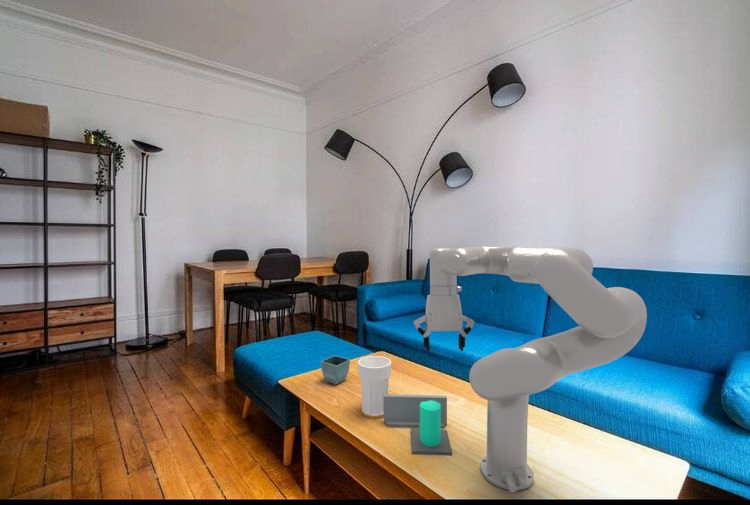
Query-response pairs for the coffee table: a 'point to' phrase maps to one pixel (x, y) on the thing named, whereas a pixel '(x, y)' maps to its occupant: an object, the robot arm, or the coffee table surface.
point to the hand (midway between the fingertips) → (444, 349)
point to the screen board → (409, 409)
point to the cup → (374, 384)
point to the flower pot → (335, 369)
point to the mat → (420, 448)
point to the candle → (430, 423)
